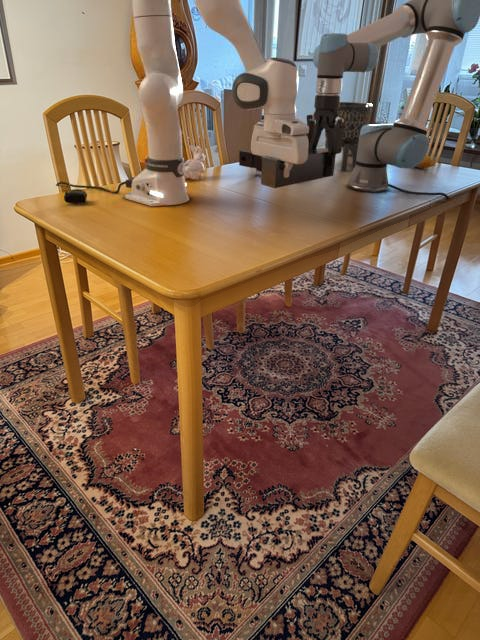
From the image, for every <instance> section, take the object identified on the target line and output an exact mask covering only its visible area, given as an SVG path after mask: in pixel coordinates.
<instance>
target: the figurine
mask: <svg viewBox="0 0 480 640" xmlns="http://www.w3.org/2000/svg"><path fill="white" fill-rule="evenodd" d="M189 149H190V151H191V152H192V154H193V159H191V158H190V159H187V160H186V161H185V162H184V167H185V168H184V178H186V179H187V178H188V179H190V180H200V178H199V176H200V175H201V174H204V173H205V171H206V169H205V165H204V162H205V159H206V154H204V153H203V149H202V147H200V146H199V145H197V144H196V146H195V145H193V144H191V145H189Z"/></svg>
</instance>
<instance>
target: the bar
mask: <svg viewBox="0 0 480 640" xmlns="http://www.w3.org/2000/svg"><path fill="white" fill-rule="evenodd" d="M327 154H329V152H328V149H327V148H325V147H318V148H317V149H310V150H308V158H307V160H306V162H305V163H303V164H294V163H293V166H292V168H291V170H290V171H289V177H287V178H285V177H282V176H281V175H282V171H284V169H285V167H286V166H285V161H281V160H280V159H276V158H272V157H267V156H265V157H262V175H261V176H260V177H261V179H260V181H261V182H260V184H261V185H262V186H266V187H268V188H272V189H279V188H283V187H286V186H292V185H296V184H301V183H307V182H310V181H315V180H316V181H317V180H321V179H325V178H329V177H333V176H334V171H335V165H336V162H335V163H334V165H333V166H332V174H331V176H327V177H325V176H324V173H325V163H326V155H327ZM336 155H337V154H336ZM336 155H335V158H336V157H337V156H336Z"/></svg>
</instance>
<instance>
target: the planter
mask: <svg viewBox="0 0 480 640" xmlns="http://www.w3.org/2000/svg"><path fill="white" fill-rule="evenodd" d="M373 107H374V106H373V104H372V103H367V102H353V101H340V106H339V109H338V117H340V118H341V119H345V120H346V121H345V124H344V127H343V140H342V152H341V166H340V170H341V172H345V171H347V167H348V166H347V165H348V159H349V155H348V152H349V150H350V151H351V153H352V155H351V157H352V158H351V159H352V160H351V161H352V166H353V167H355V165H356V158H357V150H358V142H359V136H360V131H361V128H362V127H363V126H365V125H370V121H371V116H372V112H373ZM335 123H336V122H335ZM335 127H336V124H335ZM329 129H331V128H329ZM334 132H335V131H334ZM324 139H325V144H324V148H327V149H328V143H327V134H326V132H325V131H324Z"/></svg>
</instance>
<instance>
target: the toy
mask: <svg viewBox="0 0 480 640" xmlns="http://www.w3.org/2000/svg"><path fill="white" fill-rule="evenodd" d="M436 164H437V163H436V160H434V159H432V158H431V157H430V156H429V155H428V154H426V156H425V158H424V159H423V160H422V161H421V162H420V163H419V164H418V165H416V166H415V167H418V168H420V169H428V168H432V167H434V166H435V165H436Z"/></svg>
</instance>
